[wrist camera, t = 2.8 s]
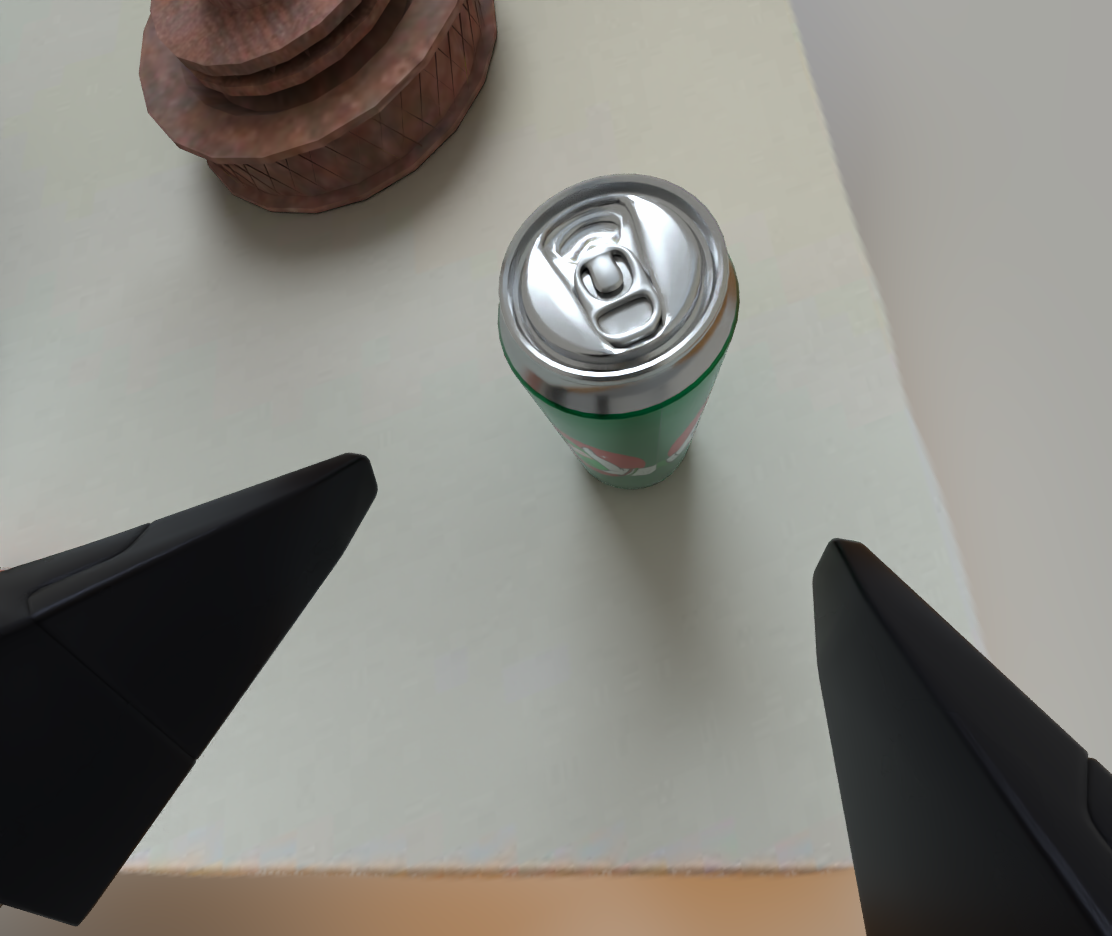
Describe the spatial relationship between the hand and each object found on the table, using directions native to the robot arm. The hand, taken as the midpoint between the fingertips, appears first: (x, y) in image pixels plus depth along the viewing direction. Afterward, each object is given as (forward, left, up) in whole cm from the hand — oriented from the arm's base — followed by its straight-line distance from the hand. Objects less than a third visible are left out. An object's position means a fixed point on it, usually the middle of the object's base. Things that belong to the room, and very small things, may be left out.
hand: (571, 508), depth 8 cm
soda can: (+4, -2, -11) cm, 12 cm away
